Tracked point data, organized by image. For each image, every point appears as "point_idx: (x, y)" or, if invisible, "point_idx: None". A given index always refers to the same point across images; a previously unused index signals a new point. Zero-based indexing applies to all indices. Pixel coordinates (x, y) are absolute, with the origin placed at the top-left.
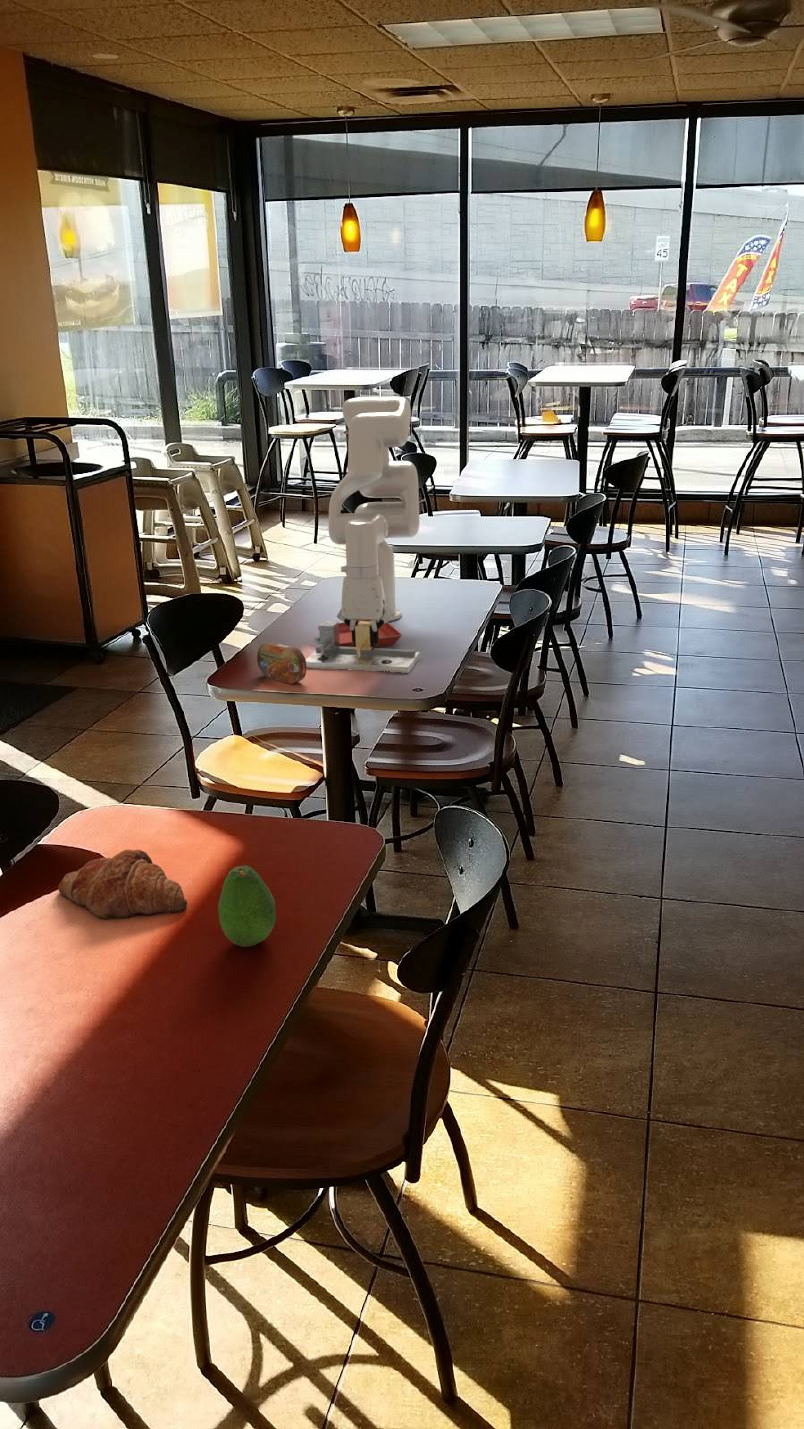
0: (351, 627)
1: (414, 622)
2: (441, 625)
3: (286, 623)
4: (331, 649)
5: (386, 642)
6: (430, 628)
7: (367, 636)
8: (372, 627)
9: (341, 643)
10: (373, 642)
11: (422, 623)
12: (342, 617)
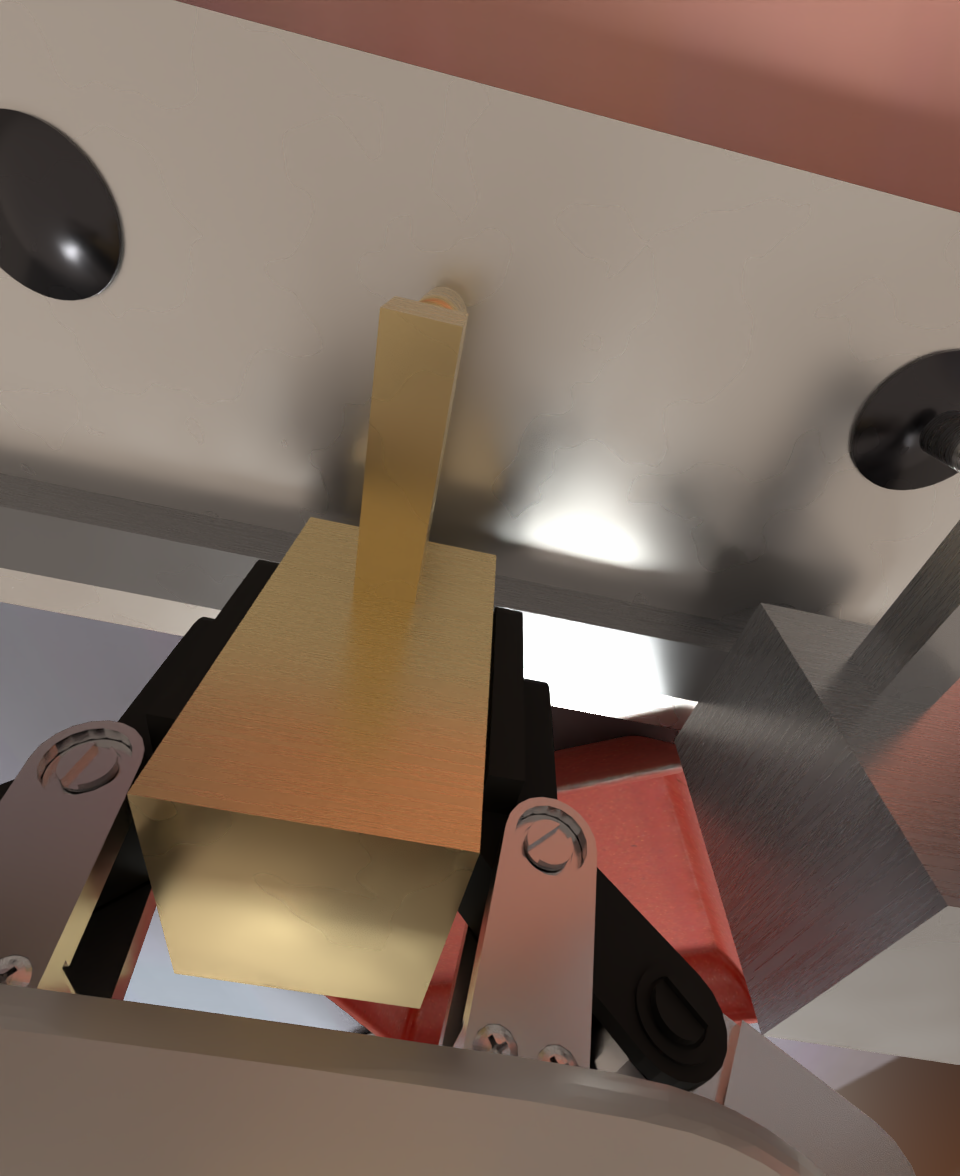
0: (561, 854)
1: (271, 1011)
2: (131, 980)
3: (866, 1057)
4: (796, 610)
5: None
6: (166, 962)
7: (274, 642)
8: (113, 796)
9: (651, 770)
10: (235, 594)
11: (230, 1002)
12: (781, 1137)
